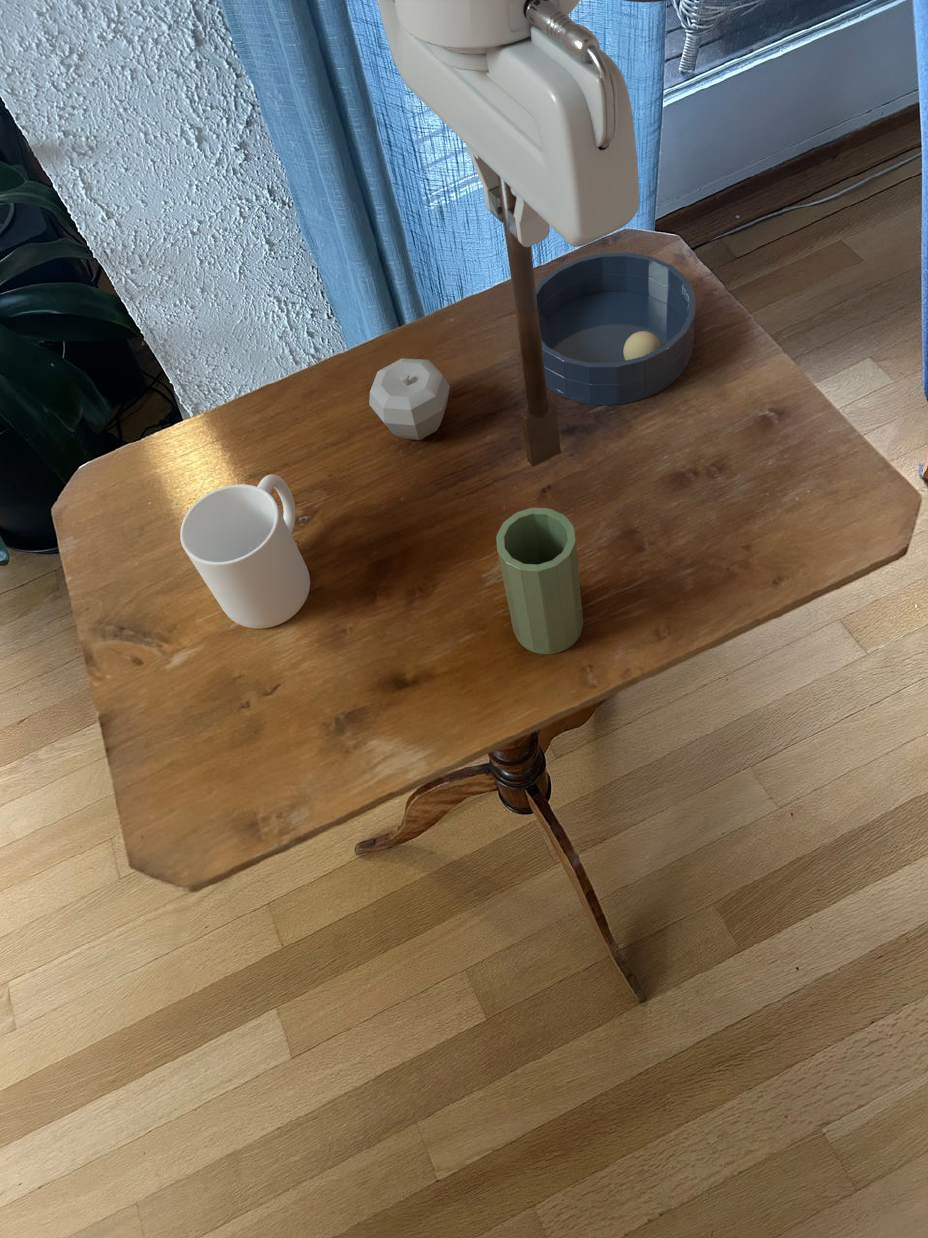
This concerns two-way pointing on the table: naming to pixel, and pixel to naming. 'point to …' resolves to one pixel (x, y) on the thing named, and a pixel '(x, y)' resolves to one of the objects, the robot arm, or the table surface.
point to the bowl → (614, 327)
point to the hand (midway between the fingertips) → (518, 224)
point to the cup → (248, 552)
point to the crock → (541, 579)
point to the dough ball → (640, 345)
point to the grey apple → (410, 398)
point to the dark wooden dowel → (530, 345)
